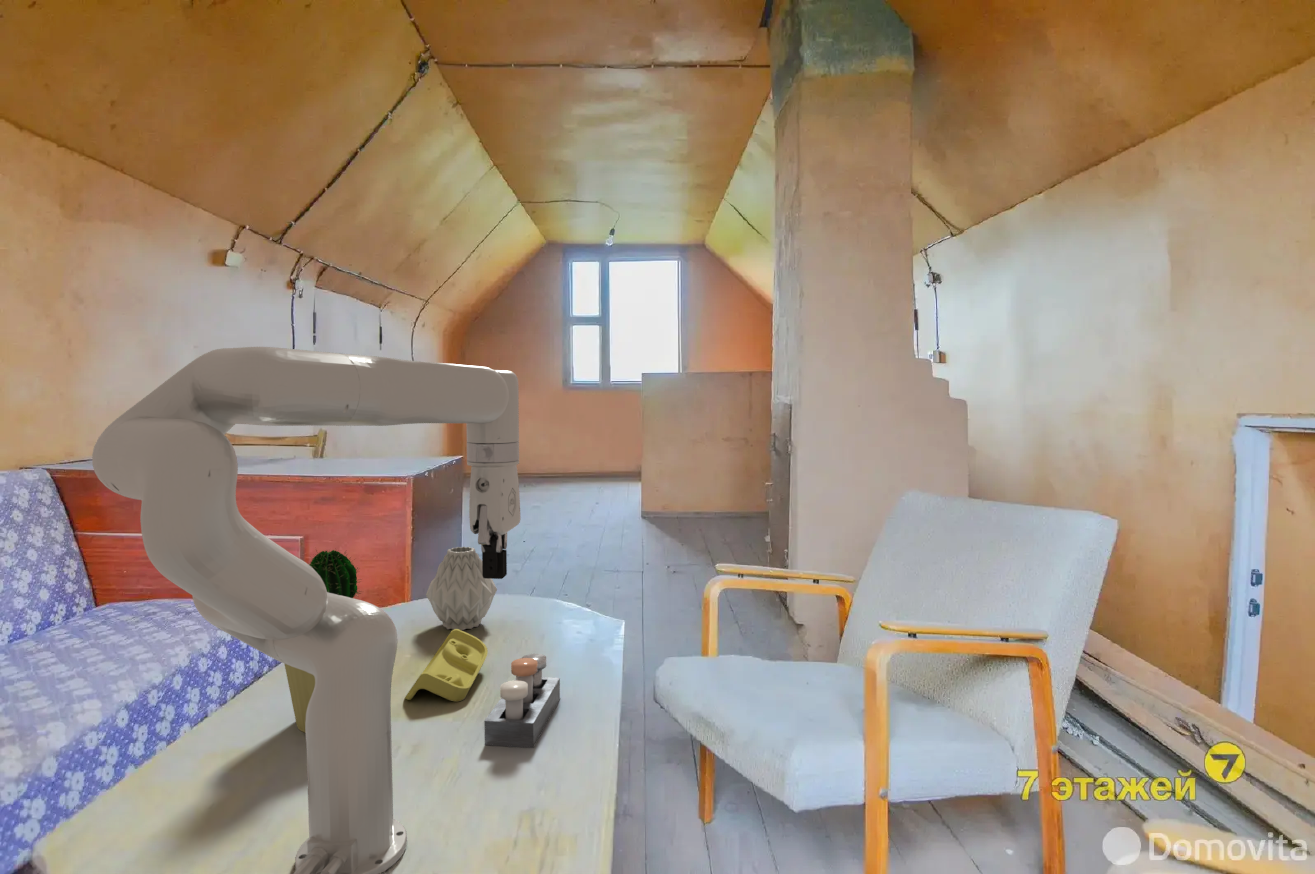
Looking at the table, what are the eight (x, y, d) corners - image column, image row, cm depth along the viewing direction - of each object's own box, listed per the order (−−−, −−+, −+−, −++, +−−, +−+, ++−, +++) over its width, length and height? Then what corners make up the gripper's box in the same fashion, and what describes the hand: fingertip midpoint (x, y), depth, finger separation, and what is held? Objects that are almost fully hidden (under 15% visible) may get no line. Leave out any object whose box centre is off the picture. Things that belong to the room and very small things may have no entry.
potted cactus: (286, 749, 114) (279, 562, 112) (280, 711, 127) (274, 543, 125) (388, 726, 122) (384, 551, 120) (372, 693, 135) (368, 534, 133)
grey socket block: (533, 747, 115) (533, 723, 115) (484, 744, 116) (484, 720, 116) (559, 699, 133) (559, 677, 133) (517, 697, 134) (517, 675, 134)
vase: (510, 621, 177) (510, 546, 175) (459, 641, 163) (458, 560, 162) (463, 610, 185) (462, 539, 184) (411, 628, 171) (410, 551, 170)
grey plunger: (543, 710, 128) (542, 663, 127) (518, 708, 129) (518, 662, 128) (549, 699, 132) (548, 654, 132) (525, 698, 133) (525, 653, 132)
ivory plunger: (523, 743, 116) (523, 691, 116) (497, 741, 117) (496, 690, 116) (531, 730, 121) (530, 680, 120) (505, 729, 121) (505, 679, 120)
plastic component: (467, 691, 131) (416, 668, 130) (451, 726, 132) (400, 703, 131) (493, 644, 150) (449, 624, 150) (478, 674, 151) (435, 654, 151)
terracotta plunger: (533, 717, 122) (533, 668, 121) (508, 715, 122) (507, 667, 122) (540, 705, 126) (540, 658, 126) (516, 704, 127) (515, 657, 126)
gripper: (502, 459, 99) (503, 592, 100) (531, 450, 113) (532, 565, 115) (448, 459, 99) (451, 590, 101) (485, 449, 114) (486, 564, 115)
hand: (494, 576), depth 108 cm, fingers closed
